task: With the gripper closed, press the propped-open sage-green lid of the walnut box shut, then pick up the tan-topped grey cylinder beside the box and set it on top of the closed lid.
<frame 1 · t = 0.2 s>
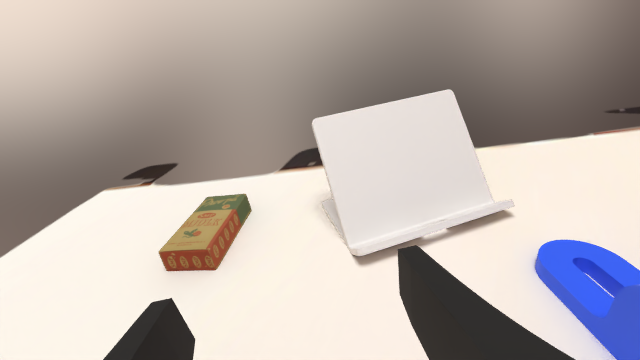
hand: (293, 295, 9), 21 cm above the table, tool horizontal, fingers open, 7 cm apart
bracket: (620, 316, 29), on the table
carton: (215, 239, 51), on the table
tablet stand: (407, 212, 50), on the table
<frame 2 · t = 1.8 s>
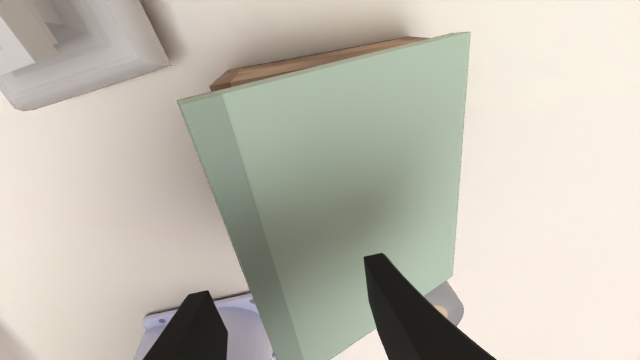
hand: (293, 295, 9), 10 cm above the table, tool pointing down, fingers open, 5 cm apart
box: (334, 154, 19), on the table
stamp: (88, 10, 14), on the table
lid: (365, 220, 12), point 7 cm above the table, hinge at 22.0°
tan-topped grey cylinder: (400, 266, 24), on the table
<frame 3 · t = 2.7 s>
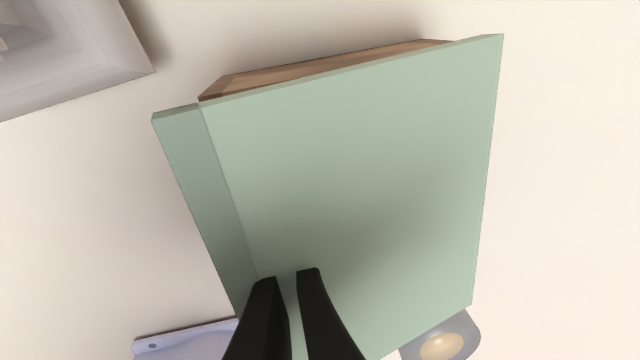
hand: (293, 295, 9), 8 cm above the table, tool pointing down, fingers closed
box: (339, 167, 17), on the table
stamp: (62, 9, 12), on the table
lid: (372, 244, 11), point 7 cm above the table, hinge at 16.9°, touching gripper
tan-topped grey cylinder: (409, 285, 23), on the table
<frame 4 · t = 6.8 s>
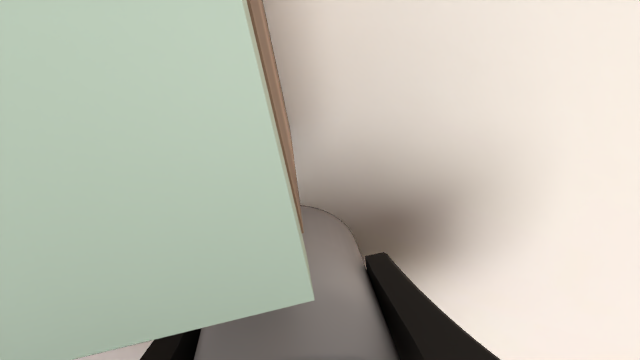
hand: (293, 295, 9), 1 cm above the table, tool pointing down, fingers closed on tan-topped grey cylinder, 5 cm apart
tan-topped grey cylinder: (290, 264, 11), on the table, touching gripper
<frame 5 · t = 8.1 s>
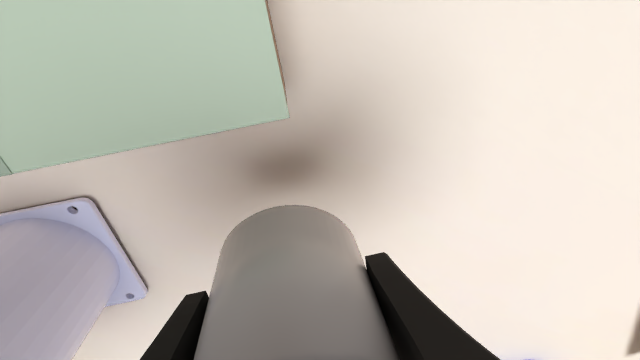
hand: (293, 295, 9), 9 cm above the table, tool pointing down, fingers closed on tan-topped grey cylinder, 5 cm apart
tan-topped grey cylinder: (290, 263, 11), point 8 cm above the table, touching gripper
when the fingers open (8 cm above the table, at t = 9.7 s): tan-topped grey cylinder stays where it is, resting on lid.
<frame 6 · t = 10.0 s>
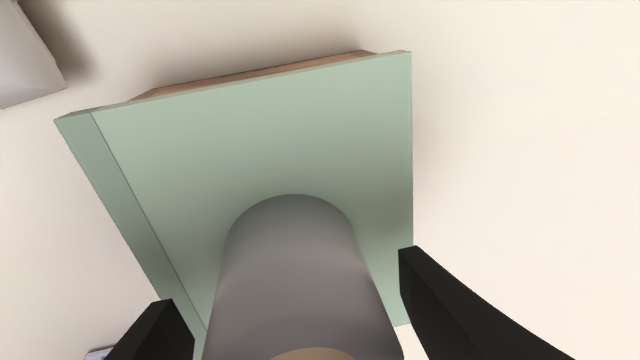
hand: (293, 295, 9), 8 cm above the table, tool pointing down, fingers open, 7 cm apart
box: (285, 180, 17), on the table
lid: (284, 243, 12), point 6 cm above the table, hinge at 1.2°, touching tan-topped grey cylinder
tan-topped grey cylinder: (291, 249, 12), point 6 cm above the table, touching lid
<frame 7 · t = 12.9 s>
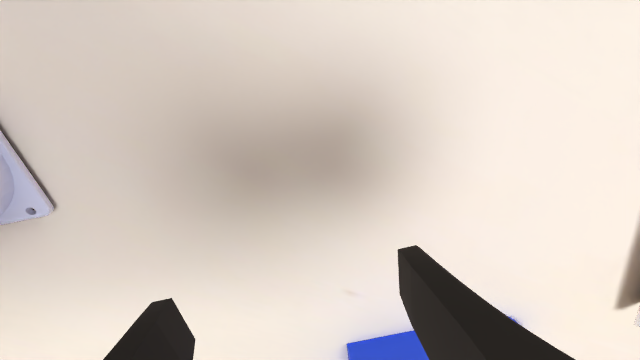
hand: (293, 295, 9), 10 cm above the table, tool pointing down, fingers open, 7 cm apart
bracket: (434, 348, 31), on the table
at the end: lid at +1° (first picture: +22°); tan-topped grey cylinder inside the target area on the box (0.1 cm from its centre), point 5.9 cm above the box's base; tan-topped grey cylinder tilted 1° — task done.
